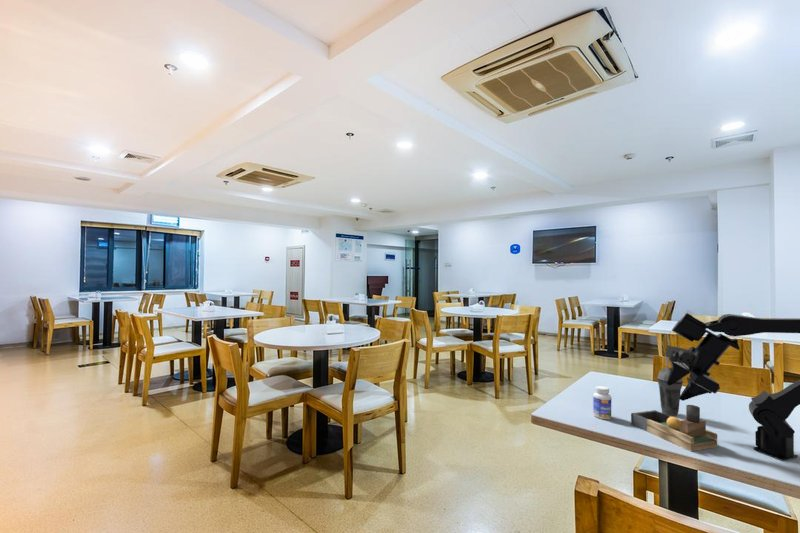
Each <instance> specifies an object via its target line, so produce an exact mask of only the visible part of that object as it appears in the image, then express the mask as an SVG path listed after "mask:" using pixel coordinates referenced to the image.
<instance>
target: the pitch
mask: <svg viewBox="0 0 800 533" xmlns="http://www.w3.org/2000/svg"><path fill="white" fill-rule="evenodd" d="M670 417H673V416H670ZM678 419H679V420H680V421H682V420H683V419H680V418H678ZM646 432H647V433H649V434H652V435H654V436H657V437H659V438H660V439H663V440H665V441H667V442H670V443H672V444H674V445H676V446H678V447H681V448H682V449H685V450H687V451H690V452H696V451H700V450H706V449H707V448H708V449H712V448H717V447H718V433H716V432H714V431H711V430H708V429H706V435H703V436H697V437H691V436H689V435H686V434H684V433H681V432H680V428H679V429H677V430H674V429H672V428H670V427H669V426H668V425H667V422H664V423H657V422H655V421H653V420H650V419H647V431H646ZM708 449H707V450H708Z"/></svg>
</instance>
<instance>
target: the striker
mask: <svg viewBox="0 0 800 533" xmlns="http://www.w3.org/2000/svg"><path fill="white" fill-rule="evenodd" d="M685 409H686V412H685V413H686V419H681V420H682V421H680V432H681V433H684V434H686V435H689V436H691V437H697V436H703V435H706V430H707V429H706V427H707V421H706V420H705V419H702V418H701V412H700V411H701V410H700V409H701V408H700V407H699V406H697V405H694V404H686V407H685Z"/></svg>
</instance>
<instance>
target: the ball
mask: <svg viewBox="0 0 800 533" xmlns="http://www.w3.org/2000/svg"><path fill="white" fill-rule="evenodd" d="M679 419H680V418H677V417H676V416H672V417H669V418H668V419H667V425H668V426H669V427H670V428H672V429H674V430H677V429H679V428H680V420H681V419H680V420H679Z"/></svg>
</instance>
